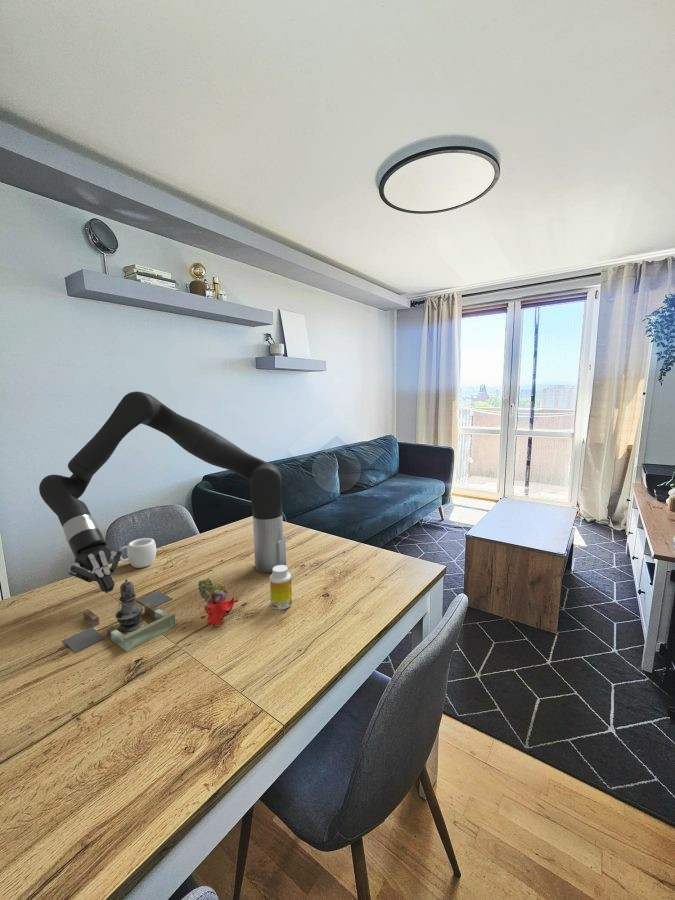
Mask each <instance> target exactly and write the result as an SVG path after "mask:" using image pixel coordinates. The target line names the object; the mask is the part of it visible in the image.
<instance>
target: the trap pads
mask: <svg viewBox="0 0 675 900" xmlns="http://www.w3.org/2000/svg"><path fill="white" fill-rule="evenodd" d="M173 599H174V598H173V597H170V596H169V595H167V594H165V593H163V592H161V591H159V590H158V591H156V592H153V593H151V594H149V595H147V596H144V597H142V598H139V599H138V600H136V601H137V602H138V603H140V604H141V605H142V606H144V605H145V604H147V603H150V604H151V605H153V606H155V607H157V608H158V607H159V606H161V605H164V604H165V603H167V602H169V601H172V600H173ZM104 639H106V637H105V636H104V635H103V634H102V633H100V632H98V630H96V629H95V628H94V627H92V626H91V627H89V628H87V629H84V630H82V631H79V632H77V633H75V634H73V635H70V636H69V637H67V638H65V639H63V640H62V642H63V643H64V644H65V645H66V646H67V647H68V648H70V649H71V650H72V651H73V652H74V653H78V652H80V651H82V650H84V649H87V648H89V647H91V646H92V645H94V644H97V643H99V642H101V641H102V640H104Z"/></svg>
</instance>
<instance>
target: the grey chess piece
mask: <svg viewBox="0 0 675 900" xmlns="http://www.w3.org/2000/svg"><path fill="white" fill-rule="evenodd" d="M134 587H135V585H134V583H133V582H131V581H129V580H128V579H127V578H125V580H124V582H123V583H122V584H120V587H119V591H120V597H119V599H118V600H119V602H120V605H121V606H120V610H118V611H117V612H116V613H115V615H114V617H115V619H116V621H117V622H118V624H119V626H118V627H117V630H118V631H119V632H121V633H122V634H124V633H132V632H134V631H136V630H138V629H140V628H142V627H143V626H142V625H143V620H141V619H140V618H141V617H142V614H143V612H144V608H143V607H142V606H141V605H137V604H136V597H137V594H136V593H135V588H134Z"/></svg>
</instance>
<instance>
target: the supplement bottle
mask: <svg viewBox="0 0 675 900" xmlns="http://www.w3.org/2000/svg"><path fill="white" fill-rule="evenodd" d="M292 595H293V594H292V575H291V573H290V572H289V568H288V566H287V565H286V564H285V565H277V566H275V567H273V569H272V572H271V575H270V576H269V598H270V606H271V608H273V609H275V610H277V611H278V610H281V611H282V610H285V609H288V608H289V607H291V605H292V603H293V599H292V598H293V597H292Z"/></svg>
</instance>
